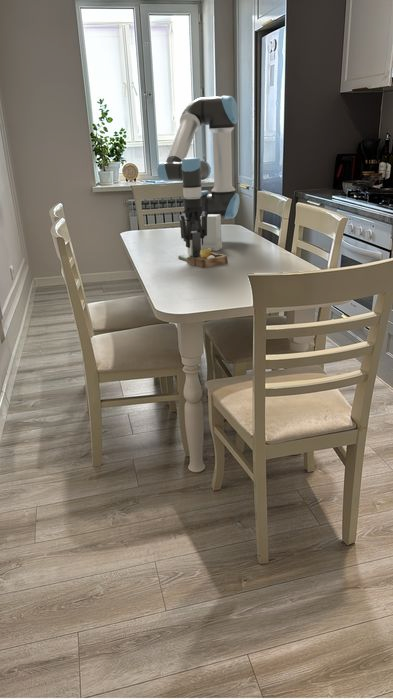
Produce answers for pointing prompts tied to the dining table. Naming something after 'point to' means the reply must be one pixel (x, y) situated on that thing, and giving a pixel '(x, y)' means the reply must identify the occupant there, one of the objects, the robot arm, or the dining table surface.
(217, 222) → the skincare box
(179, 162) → the robot arm
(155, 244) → the dining table surface
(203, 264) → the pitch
